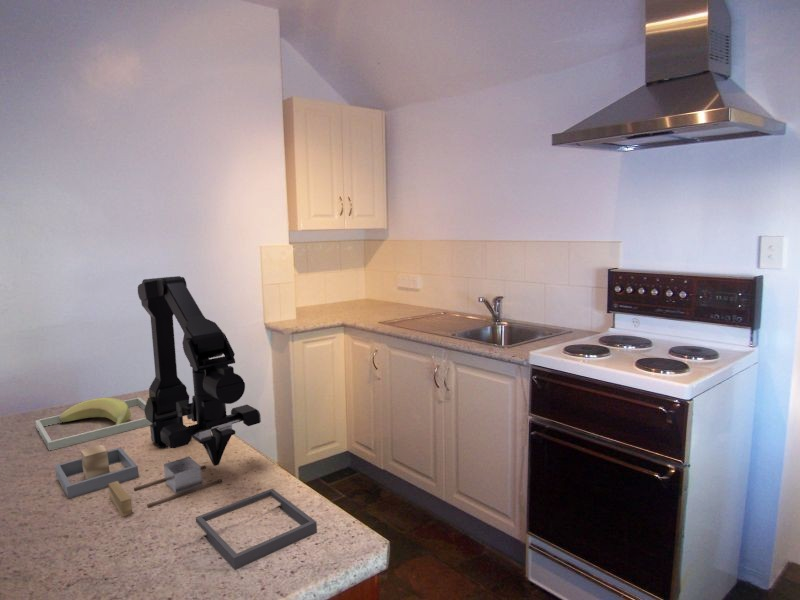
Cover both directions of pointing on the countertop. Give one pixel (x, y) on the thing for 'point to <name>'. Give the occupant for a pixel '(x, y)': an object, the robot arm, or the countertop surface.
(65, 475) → the tray
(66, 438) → the fruit rim
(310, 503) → the countertop surface
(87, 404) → the banana
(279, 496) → the dark grey square frame
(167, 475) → the grey small block
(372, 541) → the countertop surface
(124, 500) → the track
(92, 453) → the block
